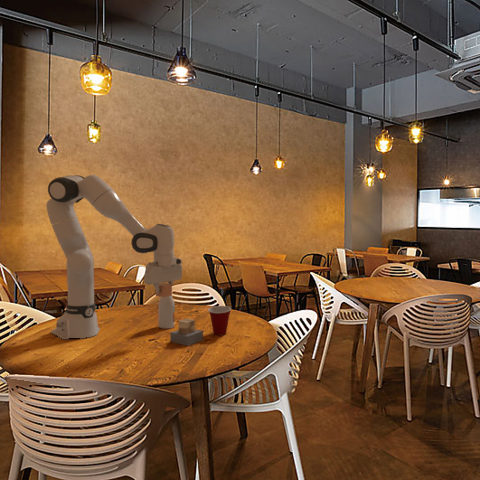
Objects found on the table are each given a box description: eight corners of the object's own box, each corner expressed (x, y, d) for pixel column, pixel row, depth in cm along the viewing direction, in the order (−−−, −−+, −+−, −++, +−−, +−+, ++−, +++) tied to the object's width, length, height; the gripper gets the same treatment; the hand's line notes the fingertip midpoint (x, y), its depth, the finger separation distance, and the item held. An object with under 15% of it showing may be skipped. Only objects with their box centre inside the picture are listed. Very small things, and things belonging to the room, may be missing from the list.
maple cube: (187, 334, 168) (187, 322, 168) (178, 332, 171) (178, 320, 171) (194, 331, 172) (195, 320, 172) (186, 329, 175) (186, 318, 175)
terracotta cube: (155, 295, 174) (155, 284, 173) (163, 294, 178) (163, 283, 178) (163, 297, 171) (163, 285, 171) (171, 295, 175) (171, 284, 175)
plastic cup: (202, 333, 183) (203, 308, 182) (219, 329, 191) (219, 304, 190) (219, 338, 176) (219, 312, 175) (235, 333, 183) (236, 308, 183)
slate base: (170, 341, 170) (170, 332, 170) (185, 336, 179) (185, 327, 179) (187, 345, 165) (188, 336, 165) (203, 340, 173) (203, 331, 173)
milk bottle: (171, 329, 189) (171, 288, 188) (155, 328, 191) (155, 287, 190) (176, 325, 197) (176, 285, 196) (162, 324, 198) (162, 284, 197)
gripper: (151, 263, 163) (151, 296, 164) (184, 259, 180) (184, 289, 181) (141, 262, 167) (140, 294, 167) (174, 258, 184) (174, 288, 184)
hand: (163, 292), depth 174 cm, fingers closed on terracotta cube, 5 cm apart
